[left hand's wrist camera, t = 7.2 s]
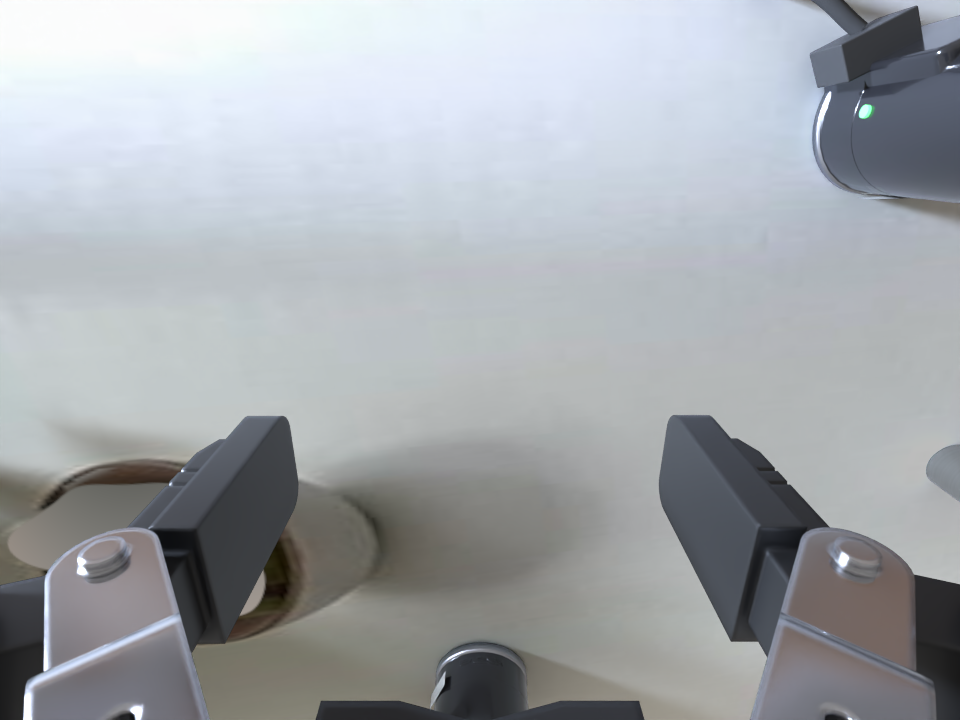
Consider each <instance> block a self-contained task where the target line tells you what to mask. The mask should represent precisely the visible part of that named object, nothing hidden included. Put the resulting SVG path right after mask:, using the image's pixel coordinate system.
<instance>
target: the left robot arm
mask: <svg viewBox="0 0 960 720" xmlns="http://www.w3.org/2000/svg"><path fill="white" fill-rule="evenodd" d="M659 493H660V499H661V504H662V507H663V509H664V511H665V513H666V515H667V517H668V519H669V521H670V523H671V525H672V527H673V529H674V531H675V533H676V535H677V537H678V539H679V541H680V543H681V544H682V546H683V548H684V550H685V552H686V554H687V556H688V558H689V560H690V562H691V564H692V566H693V568H694V570H695V572H696V574H697V576H698V578H699V580H700V582H701V584H702V586H703V588H704V589H705V591H706V593H707V595H708V597H709V599H710V601H711V603H712V605H713V607H714V609H715V611H716V613H717V615H718V617H719V619H720V621H721V623H722V625H723V627H724V629H725V631H726V633H727V635H728V636H729V638H730V640H731V642H759V644H760V645H761V647H762V649H763V651H764V652H765V654H766V656H767V661H766V664H765V668H764V671H763V675H762V678H761V682H760V686H759V689H758V693H757V696H756V700H755V703H754V707H753V711H752V714H751V718H750V720H960V584H956V583H951V582H946V581H942V580H937V579H932V578H927V577H923V576H918V575H914V574H913V572H912V570H911V569H910V567H909V566H908V564H907V563H906V562H905V561H904V560H903V559H902V558H901V557H900V556H898V555H897V554H896V553H895V552H893V551H892V550H890V549H889V548H888V547H886V546H884V545H883V544H881V543H879V542H877V541H875V540H873V539H871V538H869V537H866V536H864V535H861V534H858V533H855V532H852V531H848V530H844V529H838V528H830V527H829V526H828V525H827V524H826V523H825V522H824V521H823V520H822V518H821V517H820V516H819V515H818V514H817V513H816V512H815V511H814V510H813V509H812V508H811V507H810V505H809V504H808V503H807V502H806V501H805V500H804V499H803V498H802V497H801V496H800V495H799V494H798V493H797V491H796V490H795V489H794V488H793V487H792V486H791V485H787V481H786V480H785V479H784V477H783V476H782V475H781V474H780V473H779V472H778V471H775V468H774V467H773V466H772V464H771V463H770V462H769V461H768V460H767V459H766V458H765V457H764V456H763V455H762V454H761V453H760V452H759V451H757V450H756V449H754V448H752V447H751V446H749V445H747V444H746V443H744V442H742V441H741V440H739V439H731V438H730V437H729V436H728V435H727V433H726V432H725V431H724V430H723V429H722V428H721V427H720V425H719V424H718V423H717V422H716V421H715V420H714V418H713V417H711V416H710V415H673V416H671V417H670V419H669V421H668V425H667V430H666V437H665V444H664V450H663V457H662V464H661V470H660V477H659ZM297 496H298V476H297V470H296V463H295V457H294V450H293V443H292V437H291V430H290V425H289V422H288V420H287V418H286V417H284V416H247V417H245V418H244V419H243V420H242V421H241V423H240V424H239V425H238V426H237V427H236V428H235V429H234V430H233V432H232V433H231V434H230V435H229V436H228V437H227V438H226V439H219V440H218V441H216V442H214V443H213V444H211V445H209V446H208V447H206V448H204V449H203V450H201V451H199V452H198V453H196V454H195V455H194V456H193V457H192V458H191V460H190V461H189V462H188V463H187V464H186V465H185V466H184V467H183V468H182V471H181V472H178V473H177V474H176V476H175V477H174V478H173V479H172V480H171V481H170V482H169V486H165V487H164V488H163V489H162V491H161V492H160V493H159V494H158V495H157V496H156V497H155V498H154V499H153V500H152V501H151V502H150V503H149V504H148V506H147V507H146V508H145V509H144V510H143V511H142V512H141V513H140V514H139V515H138V516H137V517H136V518H135V519H134V520H133V522H132V523H131V524H130V525H129V526H128V527H127V528H122V529H116V530H112V531H108V532H105V533H102V534H99V535H96V536H94V537H91V538H89V539H87V540H85V541H83V542H81V543H79V544H77V545H76V546H74V547H72V548H71V549H70V550H68V551H67V552H65V553H64V554H63V555H62V556H60V557H59V558H58V559H57V560H56V561H55V562H54V563H53V565H52V566H51V567H50V569H49V570H48V572H47V574H46V575H45V576H41V577H36V578H32V579H27V580H22V581H18V582H13V583H8V584H4V585H0V720H210V718H209V714H208V711H207V707H206V703H205V700H204V696H203V693H202V689H201V686H200V682H199V678H198V675H197V671H196V668H195V664H194V661H193V657H192V654H191V653H192V652H193V650H194V648H195V647H196V645H197V644H225V642H226V640H227V638H228V636H229V634H230V632H231V631H232V629H233V627H234V625H235V623H236V621H237V619H238V617H239V615H240V613H241V611H242V609H243V607H244V605H245V603H246V601H247V600H248V598H249V596H250V594H251V592H252V590H253V588H254V586H255V584H256V582H257V580H258V578H259V576H260V574H261V573H262V571H263V569H264V567H265V565H266V563H267V561H268V559H269V557H270V555H271V553H272V551H273V549H274V547H275V545H276V544H277V542H278V540H279V538H280V536H281V534H282V532H283V530H284V528H285V526H286V524H287V522H288V520H289V518H290V516H291V515H292V513H293V511H294V508H295V505H296V502H297ZM434 702H435V707H434V710H431V707H432V705H433V704H434ZM316 720H644V717H643V713H642V710H641V706H640V703H639V701H559V702H555V703H551V704H548V705H544V706H540V707H537V708H533V709H529V710H528V699H527V676H526V669H525V666H524V663H523V662H522V660H521V659H520V658H519V657H518V656H517V655H516V654H515V653H514V652H512V651H511V650H509V649H507V648H505V647H503V646H500V645H496V644H491V643H471V644H466V645H463V646H460V647H458V648H455V649H454V650H452V651H450V652H449V653H448V654H446V655H445V656H444V657H443V658H442V660H441V661H440V663H439V665H438V667H437V672H436V688H435V690H434V691H433V693H432V695H431V704H430V709H427V708H423V707H420V706H416V705H412V704H409V703H405V702H401V701H321V703H320V706H319V710H318V713H317V717H316Z"/></svg>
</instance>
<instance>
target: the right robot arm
mask: <svg viewBox="0 0 960 720" xmlns="http://www.w3.org/2000/svg"><path fill="white" fill-rule="evenodd" d="M811 1H813V2H814V3H816V4H817V5H818V6H820V7H821V8H822V9H823V10H824V11H825V12H826V13H827V14H828V15H829V16H830V17H831V18H832V19H833V20H834V21H835V22H836V23H837V24H838V25H839V26H840V27H842V28H843V29H844V30H845V31H846V32H847V33H848V34H847V35H845V36H843V37H841V38H839V39H837V40H835V41H833V42H831V43H829V44H827V45H825V46H823V47H821V48H819V49H817V50H815V51H813V52H812V53H810V58H811V62H812V66H813V71H814V75H815V79H816V83H817V87H818V88H819V87H825V94H824V96H823V98H822V100H821V102H820V104H819V107H818V110H817V113H816V116H815V120H814V125H813V138H812V141H813V150H814V155H815V158H816V161H817V164H818V166H819V168H820V170H821V171H822V173H823V174H824V175H825V177H826V178H827V179H828V180H829V181H830V182H831V183H833V184H834V185H835V186H837V187H839V188H841V189H843V190H845V191H848V192H852V193H857V194H867V195H877V194H880V195H884V196H881V197H858V198H866V199H895V198H916V199H925V200H934V201H943V202H952V203H960V15H959V16H956V17H952V18H948V19H945V20H941V21H938V22H934V23H931V24H927V25H923V26H921V23H920V17H919V10H918V6H914V7H911V8H907V9H904V10H901V11H898V12H895V13H892V14H889V15H886V16H883V17H880V18H878V19H876V20H874V21H872V22H870V23H867V22H866V21H865V20H864V19H862V18H861V17H860V16H859V15H858V14H857V13H856V12H855V11H854V10H853V9H852V8H851V7H850V6H849V5H848V4H847V3H846V2H845V1H844V0H811ZM888 195H890V196H888Z"/></svg>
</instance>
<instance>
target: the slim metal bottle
mask: <svg viewBox="0 0 960 720" xmlns="http://www.w3.org/2000/svg"><path fill="white" fill-rule="evenodd" d="M926 473H927V476H928V478H929V479H930V480H931V481H932V482H933V483H934V484H936V485H937V486H938V487H940V488H941V489H943V490H944V491H945V492H947V493H948V494H949V495H951V496H952V497H953V498H955V499H956V500H958V501H959V502H960V445H953V446H949V447H946V448H944V449H942V450H940V451H939V452H937V453H936V454H935V455H934V456H933V457H932V458H931V459H930V461H929V463H928V465H927V469H926Z"/></svg>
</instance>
